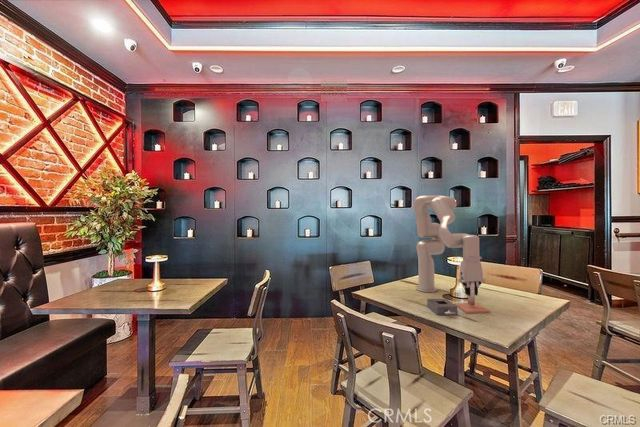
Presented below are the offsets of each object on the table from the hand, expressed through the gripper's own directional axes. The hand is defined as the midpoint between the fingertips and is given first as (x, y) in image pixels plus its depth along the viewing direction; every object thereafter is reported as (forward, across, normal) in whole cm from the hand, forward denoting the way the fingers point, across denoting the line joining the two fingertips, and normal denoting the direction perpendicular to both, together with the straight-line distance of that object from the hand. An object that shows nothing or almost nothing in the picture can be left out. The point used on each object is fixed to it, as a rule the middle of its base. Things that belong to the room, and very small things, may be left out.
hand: (471, 294), depth 147 cm
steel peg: (+5, 0, 0) cm, 5 cm away
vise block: (+7, +16, +3) cm, 18 cm away
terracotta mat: (+7, 0, 0) cm, 7 cm away
